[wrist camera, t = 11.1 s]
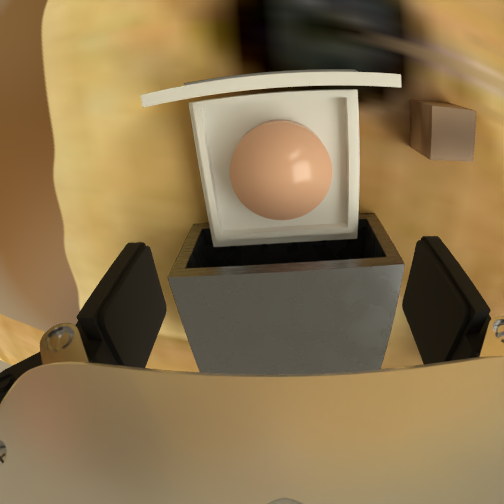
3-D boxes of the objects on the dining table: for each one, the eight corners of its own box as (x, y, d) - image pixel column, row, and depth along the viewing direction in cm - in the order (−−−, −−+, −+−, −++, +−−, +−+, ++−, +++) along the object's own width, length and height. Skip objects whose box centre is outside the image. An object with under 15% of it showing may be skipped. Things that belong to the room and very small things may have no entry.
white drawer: (168, 87, 21) (140, 92, 16) (373, 71, 19) (400, 71, 14) (198, 244, 28) (182, 281, 23) (372, 233, 26) (390, 270, 21)
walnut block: (410, 99, 21) (432, 105, 18) (451, 103, 20) (476, 111, 17) (410, 146, 23) (430, 159, 20) (449, 148, 23) (472, 161, 19)
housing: (193, 224, 28) (167, 277, 21) (374, 213, 26) (404, 264, 20) (219, 336, 35) (208, 393, 29) (361, 328, 34) (375, 386, 27)
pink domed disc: (227, 123, 22) (223, 128, 20) (325, 117, 21) (330, 121, 19) (239, 211, 25) (236, 223, 23) (328, 206, 24) (332, 217, 23)
